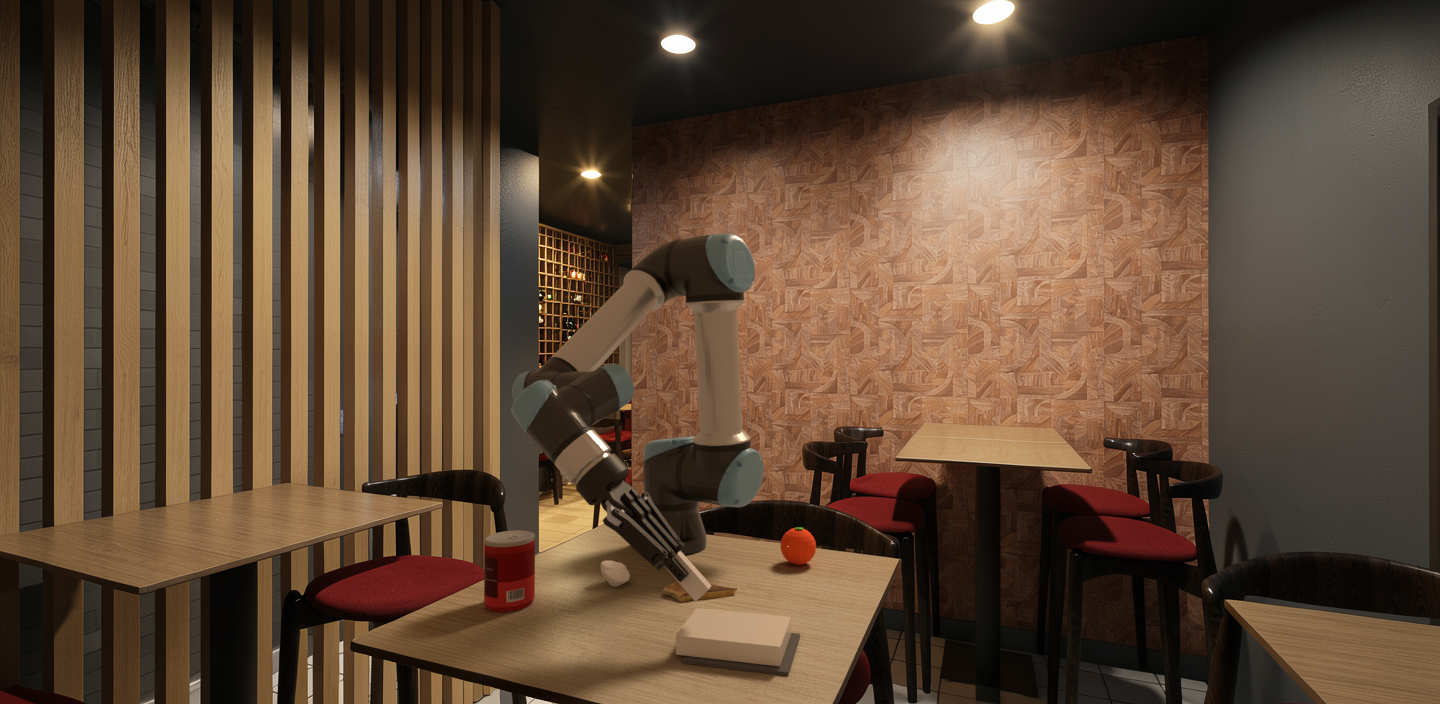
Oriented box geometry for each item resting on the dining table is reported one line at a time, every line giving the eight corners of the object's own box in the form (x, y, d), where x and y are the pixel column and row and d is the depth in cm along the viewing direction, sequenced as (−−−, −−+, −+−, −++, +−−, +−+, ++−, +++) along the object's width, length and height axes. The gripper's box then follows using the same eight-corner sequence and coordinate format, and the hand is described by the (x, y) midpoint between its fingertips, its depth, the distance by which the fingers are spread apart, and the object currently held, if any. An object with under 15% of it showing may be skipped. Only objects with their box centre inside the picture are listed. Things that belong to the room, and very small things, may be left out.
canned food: (543, 597, 109) (543, 531, 109) (516, 615, 101) (516, 544, 101) (503, 593, 111) (504, 528, 111) (473, 610, 103) (474, 541, 103)
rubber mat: (706, 626, 97) (706, 624, 97) (800, 636, 93) (800, 633, 93) (682, 663, 85) (682, 659, 85) (788, 675, 82) (788, 672, 82)
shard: (737, 597, 110) (737, 586, 110) (716, 612, 104) (716, 601, 104) (682, 587, 115) (682, 576, 115) (659, 600, 109) (659, 590, 109)
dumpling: (598, 580, 118) (598, 557, 118) (627, 577, 119) (627, 555, 119) (603, 593, 111) (603, 569, 111) (633, 590, 113) (633, 567, 113)
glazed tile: (696, 607, 96) (791, 616, 93) (696, 625, 96) (791, 635, 93) (675, 635, 86) (780, 646, 83) (675, 655, 86) (780, 667, 83)
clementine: (785, 555, 132) (785, 520, 132) (819, 559, 130) (819, 523, 130) (776, 567, 125) (776, 530, 125) (812, 571, 123) (812, 533, 123)
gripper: (595, 478, 102) (698, 594, 98) (555, 495, 89) (670, 629, 85) (627, 446, 101) (732, 562, 96) (591, 458, 88) (710, 592, 84)
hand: (703, 593), depth 91 cm, fingers closed
